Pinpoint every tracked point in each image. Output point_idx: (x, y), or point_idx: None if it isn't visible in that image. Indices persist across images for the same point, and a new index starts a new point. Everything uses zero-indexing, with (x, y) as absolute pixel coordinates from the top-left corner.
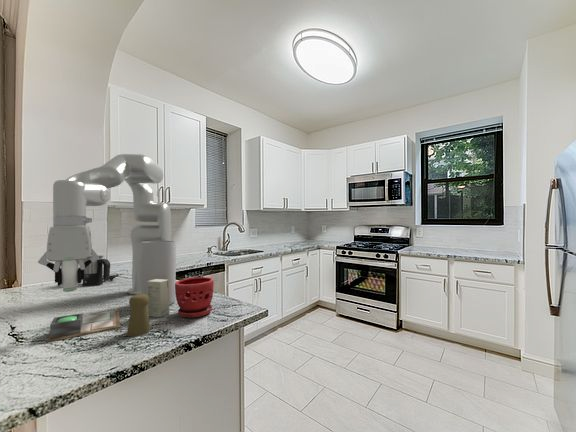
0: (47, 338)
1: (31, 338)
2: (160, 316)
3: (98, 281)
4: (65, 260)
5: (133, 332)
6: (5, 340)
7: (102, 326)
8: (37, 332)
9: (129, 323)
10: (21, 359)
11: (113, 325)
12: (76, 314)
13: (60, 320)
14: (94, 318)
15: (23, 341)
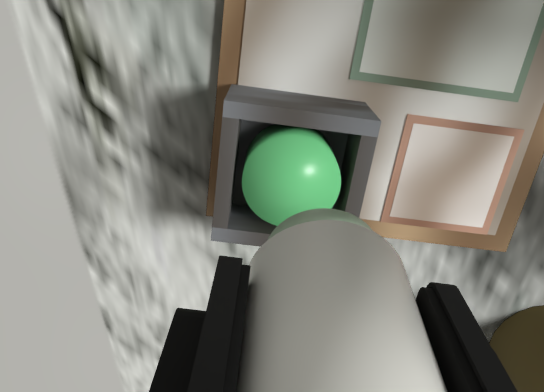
0: (210, 193)
1: (140, 103)
2: None
3: None
4: None
5: None
6: (23, 39)
7: (441, 204)
8: (152, 8)
9: (520, 390)
10: (149, 328)
11: (486, 226)
12: (344, 128)
13: (256, 190)
14: (449, 3)
15: (113, 125)
